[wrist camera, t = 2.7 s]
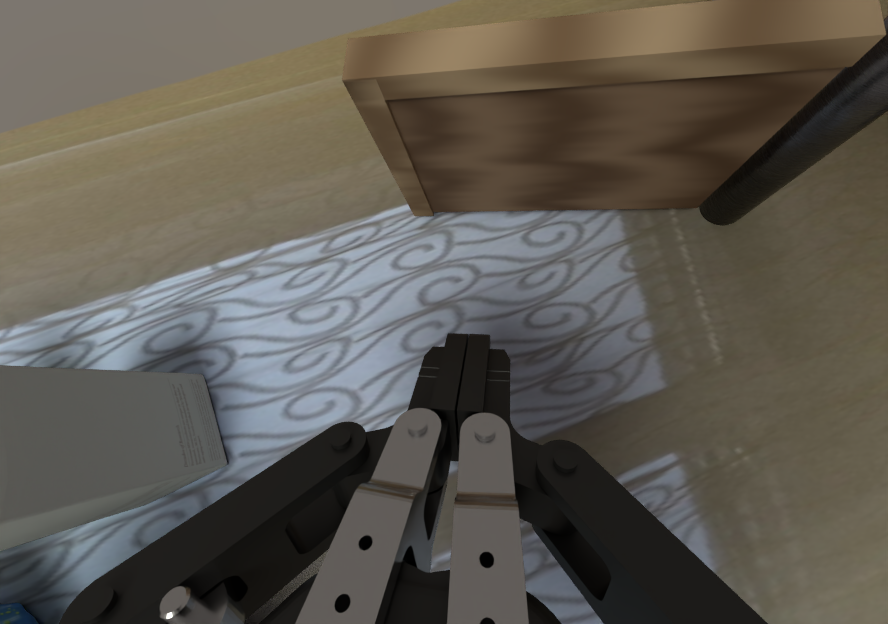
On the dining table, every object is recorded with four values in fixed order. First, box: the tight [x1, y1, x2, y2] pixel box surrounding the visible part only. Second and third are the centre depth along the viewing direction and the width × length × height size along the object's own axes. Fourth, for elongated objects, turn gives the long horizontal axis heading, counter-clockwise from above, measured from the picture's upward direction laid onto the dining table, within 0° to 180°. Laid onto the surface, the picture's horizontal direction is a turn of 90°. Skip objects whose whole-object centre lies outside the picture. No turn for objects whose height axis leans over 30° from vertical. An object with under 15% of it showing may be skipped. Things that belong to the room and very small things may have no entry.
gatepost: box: [700, 16, 888, 225], centre depth 17 cm, size 3×3×16 cm
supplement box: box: [0, 365, 227, 551], centre depth 21 cm, size 7×7×13 cm
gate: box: [342, 0, 886, 216], centre depth 19 cm, size 18×2×12 cm, turn 86°
